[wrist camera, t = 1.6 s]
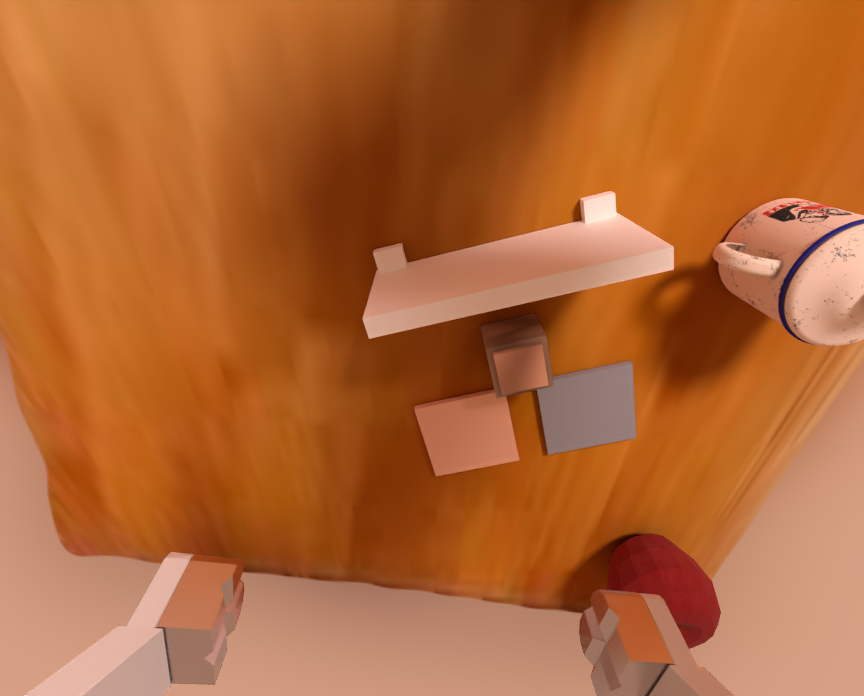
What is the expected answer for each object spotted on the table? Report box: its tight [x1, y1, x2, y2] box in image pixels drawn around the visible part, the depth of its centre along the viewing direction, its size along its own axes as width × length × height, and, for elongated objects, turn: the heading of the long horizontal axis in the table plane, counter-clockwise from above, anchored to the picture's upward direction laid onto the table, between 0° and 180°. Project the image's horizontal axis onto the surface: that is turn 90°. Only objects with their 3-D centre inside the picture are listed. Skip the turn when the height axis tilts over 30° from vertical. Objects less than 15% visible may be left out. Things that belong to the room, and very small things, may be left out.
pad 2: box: [537, 361, 636, 455], centre depth 46 cm, size 9×9×1 cm
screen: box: [362, 191, 674, 339], centre depth 34 cm, size 20×5×10 cm, turn 104°
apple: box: [607, 534, 721, 649], centre depth 51 cm, size 11×11×12 cm
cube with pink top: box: [480, 313, 554, 398], centre depth 41 cm, size 5×5×5 cm
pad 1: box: [414, 389, 519, 476], centre depth 47 cm, size 9×9×1 cm
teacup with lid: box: [713, 198, 864, 346], centre depth 34 cm, size 12×9×12 cm
